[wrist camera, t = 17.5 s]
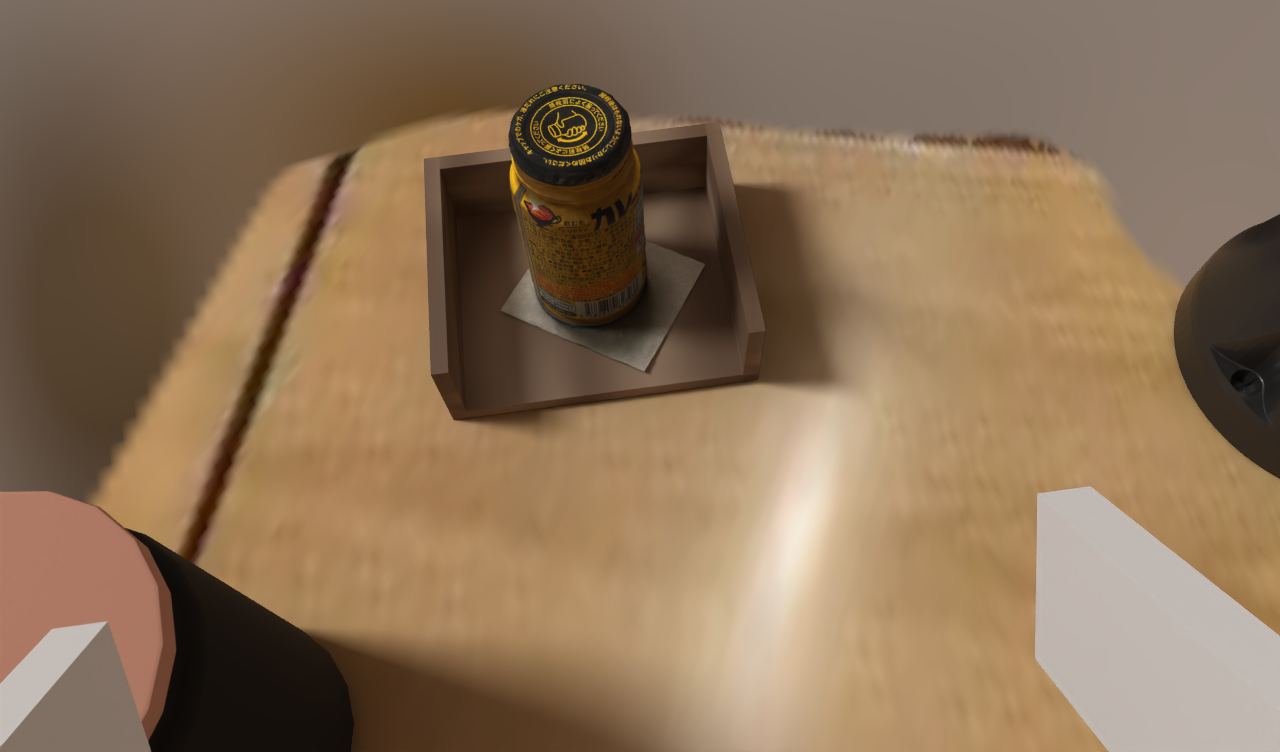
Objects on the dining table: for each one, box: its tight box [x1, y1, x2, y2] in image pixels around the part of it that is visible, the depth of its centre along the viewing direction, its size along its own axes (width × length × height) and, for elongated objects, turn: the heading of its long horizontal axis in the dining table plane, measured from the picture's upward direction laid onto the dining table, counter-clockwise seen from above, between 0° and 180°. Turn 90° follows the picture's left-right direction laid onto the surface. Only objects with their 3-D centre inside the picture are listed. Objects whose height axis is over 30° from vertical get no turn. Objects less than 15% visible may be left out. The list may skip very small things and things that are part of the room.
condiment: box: [501, 84, 705, 371], centre depth 45 cm, size 7×8×12 cm
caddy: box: [424, 122, 766, 420], centre depth 49 cm, size 16×13×5 cm
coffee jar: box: [0, 491, 354, 752], centre depth 33 cm, size 11×11×18 cm
